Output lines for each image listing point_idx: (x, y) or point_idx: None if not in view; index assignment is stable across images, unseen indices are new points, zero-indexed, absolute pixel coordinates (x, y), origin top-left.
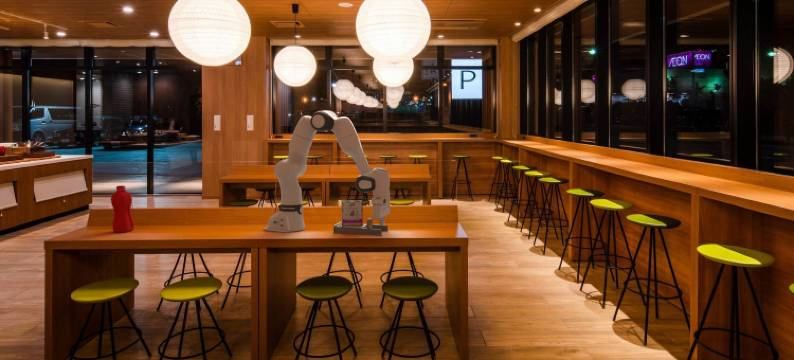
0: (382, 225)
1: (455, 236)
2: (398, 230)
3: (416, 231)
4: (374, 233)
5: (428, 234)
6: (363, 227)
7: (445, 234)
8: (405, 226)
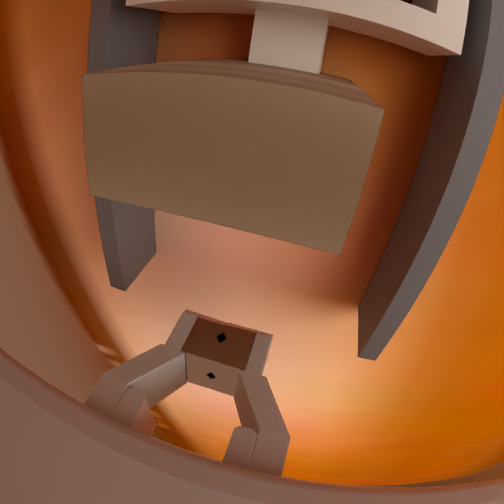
0: (386, 308)
1: None
2: (369, 375)
3: (319, 432)
4: None
5: None
6: (204, 2)
7: None
8: (489, 397)
